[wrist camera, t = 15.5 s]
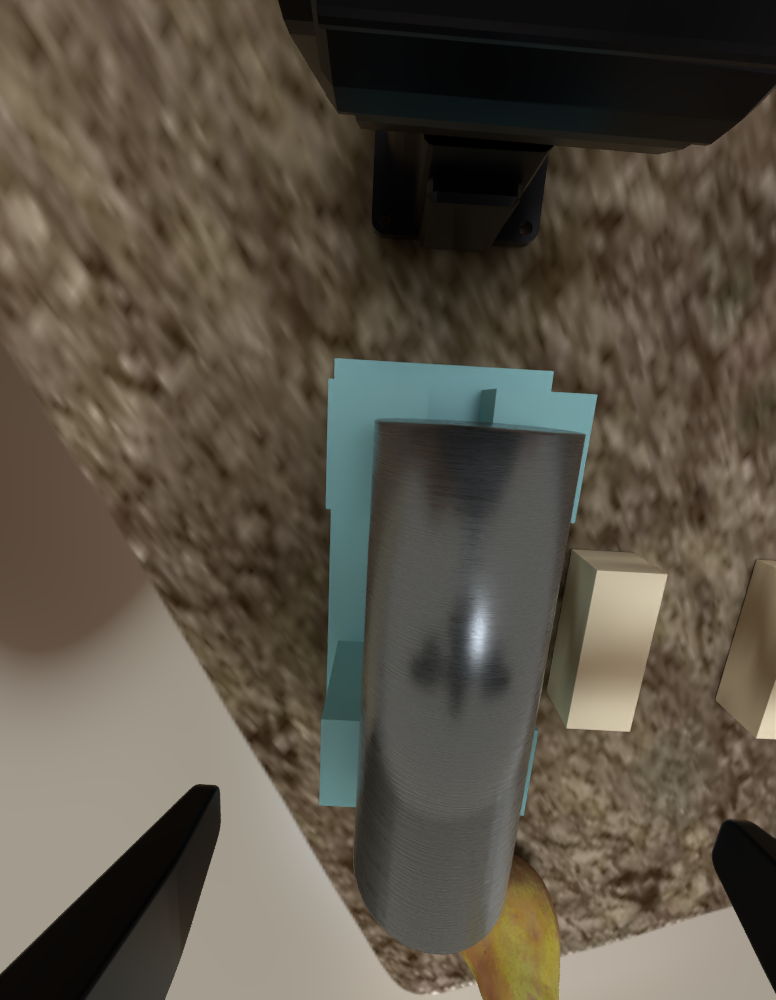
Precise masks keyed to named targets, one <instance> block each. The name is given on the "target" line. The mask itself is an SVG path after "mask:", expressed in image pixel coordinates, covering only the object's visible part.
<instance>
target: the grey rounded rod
mask: <svg viewBox="0 0 776 1000" xmlns="http://www.w3.org/2000/svg"><path fill="white" fill-rule="evenodd" d="M585 437H586V434H584V433H580V432H575V431H569V430H562V429H554V428H545V427H535V426H525V425H514V424H502V423H489V422H475V421H459V420H441V419H415V418H382V419H375V420H374V440H373V461H372V482H371V502H370V523H369V543H368V564H367V585H366V605H365V626H364V646H363V667H362V688H361V708H360V729H359V750H358V770H357V791H356V811H355V832H354V853H353V859H354V872H355V878H356V882H357V886H358V889H359V892H360V894H361V897H362V899H363V901H364V903H365V905H366V907H367V909H368V910H369V912H370V913H371V915H372V916H373V918H374V919H375V920H376V922H377V923H378V924H379V925H380V926H381V927H382V928H383V929H384V930H385V931H386V932H387V933H388V934H389V935H391V936H392V937H393V938H394V939H396V940H397V941H399V942H401V943H402V944H404V945H406V946H408V947H410V948H412V949H415V950H417V951H421V952H425V953H429V954H440V955H443V954H453V953H457V952H460V951H464V950H466V949H468V948H470V947H472V946H474V945H476V944H477V943H478V942H480V941H481V940H482V939H484V938H485V937H486V936H487V934H488V933H489V932H490V931H491V930H492V929H493V927H494V926H495V924H496V923H497V921H498V919H499V917H500V915H501V912H502V910H503V907H504V903H505V900H506V894H507V888H508V882H509V877H510V871H511V865H512V859H513V853H514V848H515V842H516V836H517V830H518V824H519V819H520V813H521V807H522V801H523V795H524V790H525V784H526V778H527V772H528V767H529V761H530V755H531V749H532V743H533V738H534V732H535V726H536V720H537V714H538V709H539V703H540V697H541V691H542V686H543V680H544V674H545V668H546V662H547V657H548V651H549V645H550V639H551V633H552V628H553V622H554V616H555V610H556V604H557V599H558V593H559V587H560V581H561V576H562V570H563V564H564V558H565V552H566V547H567V541H568V535H569V529H570V523H571V518H572V512H573V506H574V500H575V494H576V489H577V483H578V477H579V471H580V466H581V460H582V454H583V448H584V442H585Z"/></svg>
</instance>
